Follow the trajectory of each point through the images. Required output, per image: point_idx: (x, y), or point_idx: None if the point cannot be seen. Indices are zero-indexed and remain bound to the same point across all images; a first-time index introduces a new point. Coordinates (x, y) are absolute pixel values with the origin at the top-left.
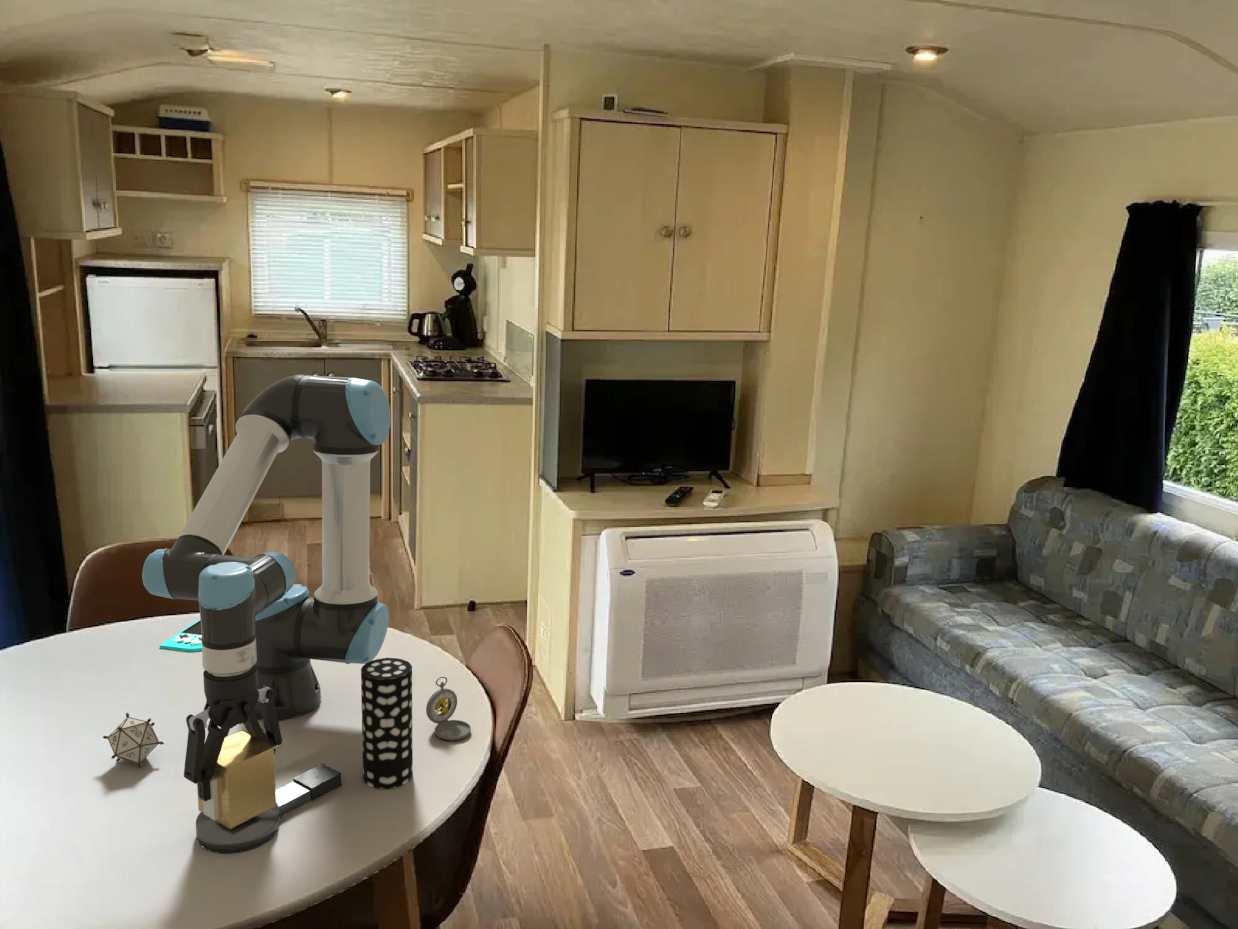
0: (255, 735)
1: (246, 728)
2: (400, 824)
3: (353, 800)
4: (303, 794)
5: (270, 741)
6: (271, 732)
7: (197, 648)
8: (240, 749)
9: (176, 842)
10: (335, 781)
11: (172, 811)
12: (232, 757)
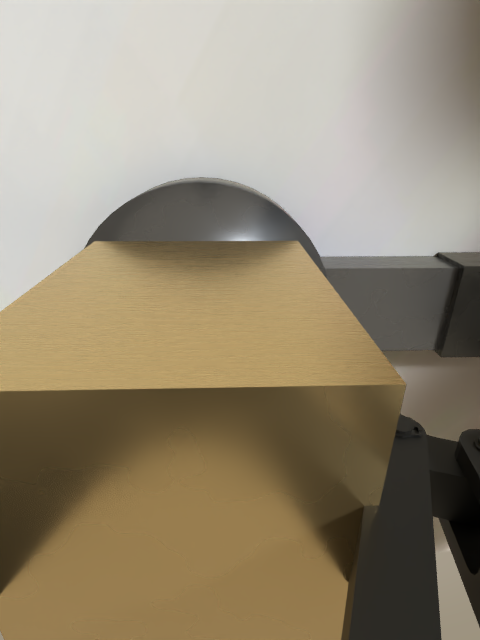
0: (343, 634)
1: (351, 621)
2: (436, 522)
3: (473, 403)
4: (409, 349)
5: (433, 511)
6: (476, 581)
7: None
8: (197, 578)
9: (42, 210)
10: None
11: (107, 4)
12: (103, 612)
